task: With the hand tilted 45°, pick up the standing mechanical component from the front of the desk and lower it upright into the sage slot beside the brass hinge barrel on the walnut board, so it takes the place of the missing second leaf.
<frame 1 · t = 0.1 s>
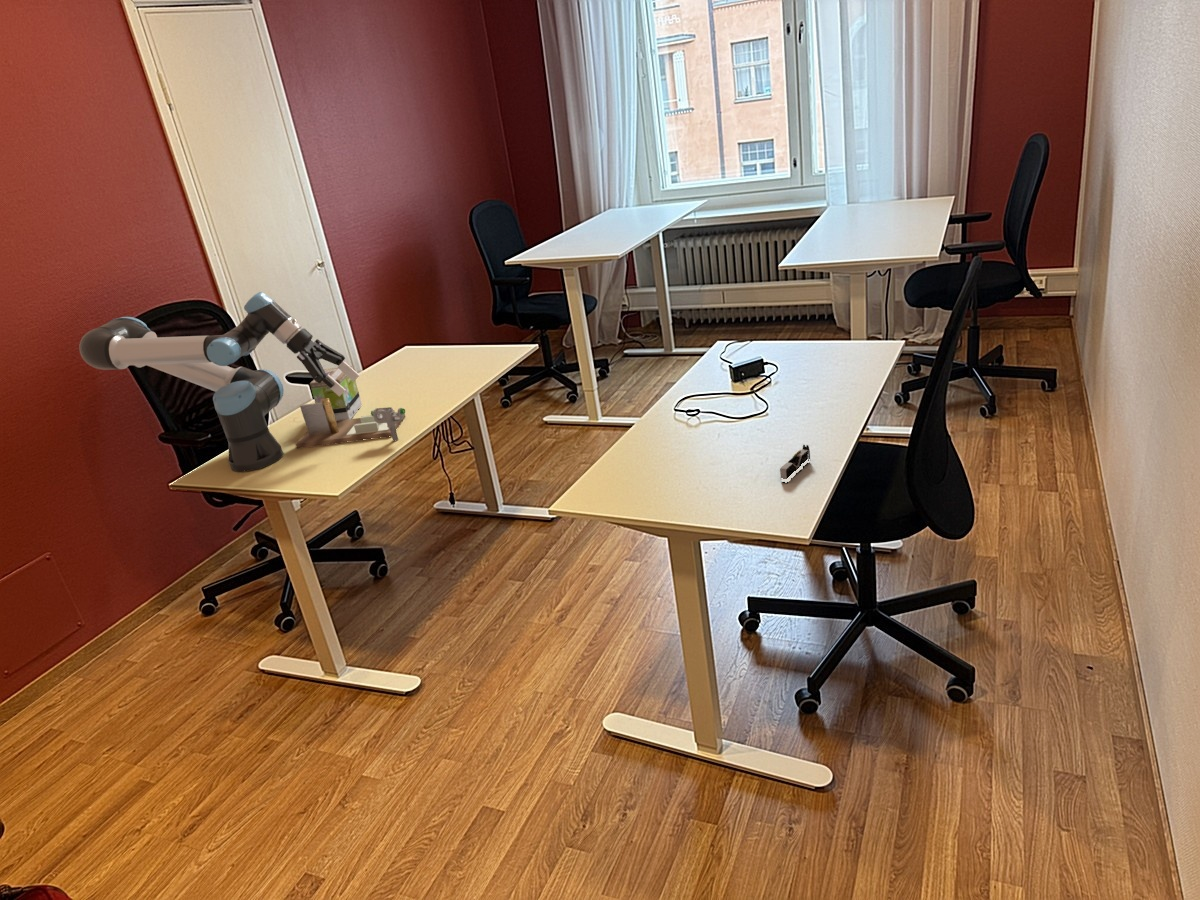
hand: (350, 385, 243), 15 cm above the table, tool tilted 35°, fingers open, 13 cm apart
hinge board: (352, 432, 251), on the table
mechanical component: (395, 440, 239), on the table
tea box: (342, 416, 267), on the table
graphics card: (796, 474, 184), on the table
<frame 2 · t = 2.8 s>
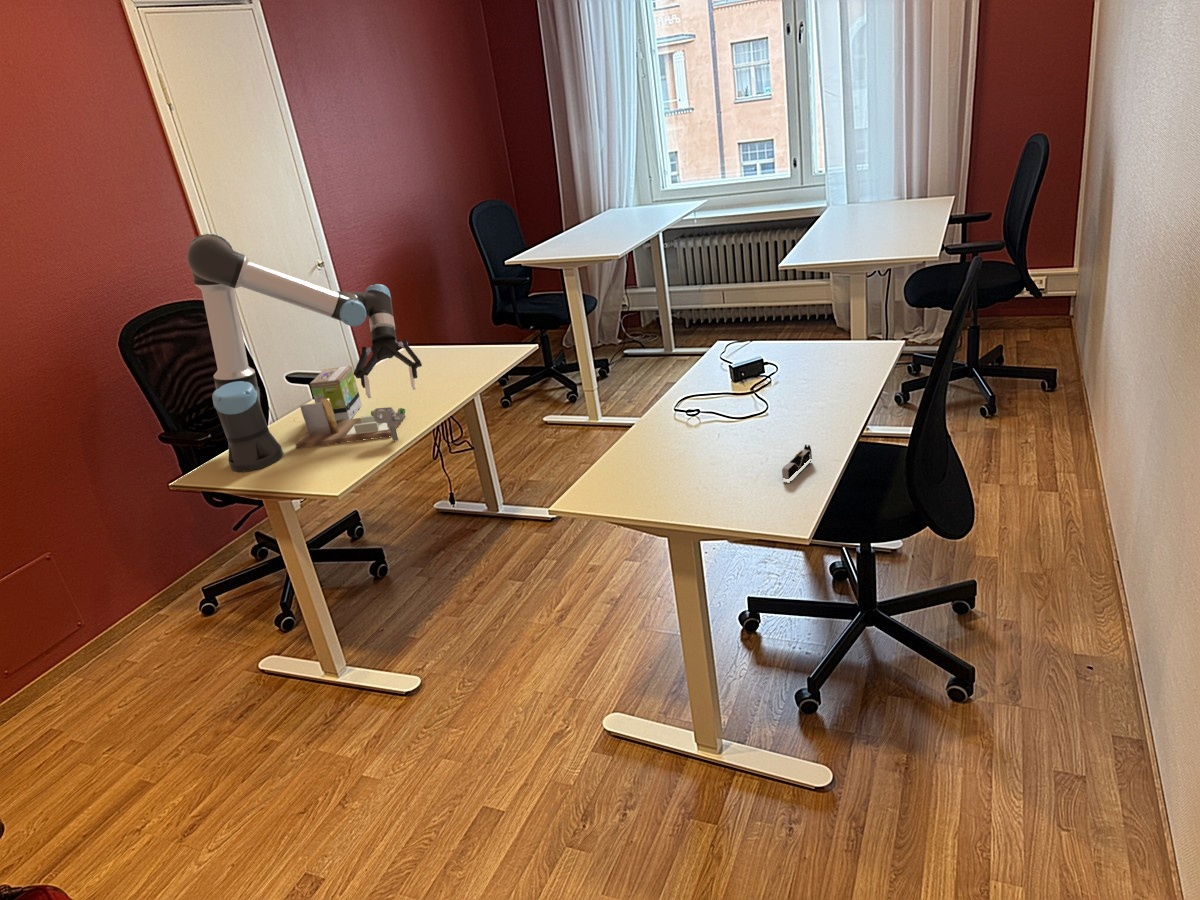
hand: (391, 392, 242), 12 cm above the table, tool tilted 45°, fingers open, 13 cm apart
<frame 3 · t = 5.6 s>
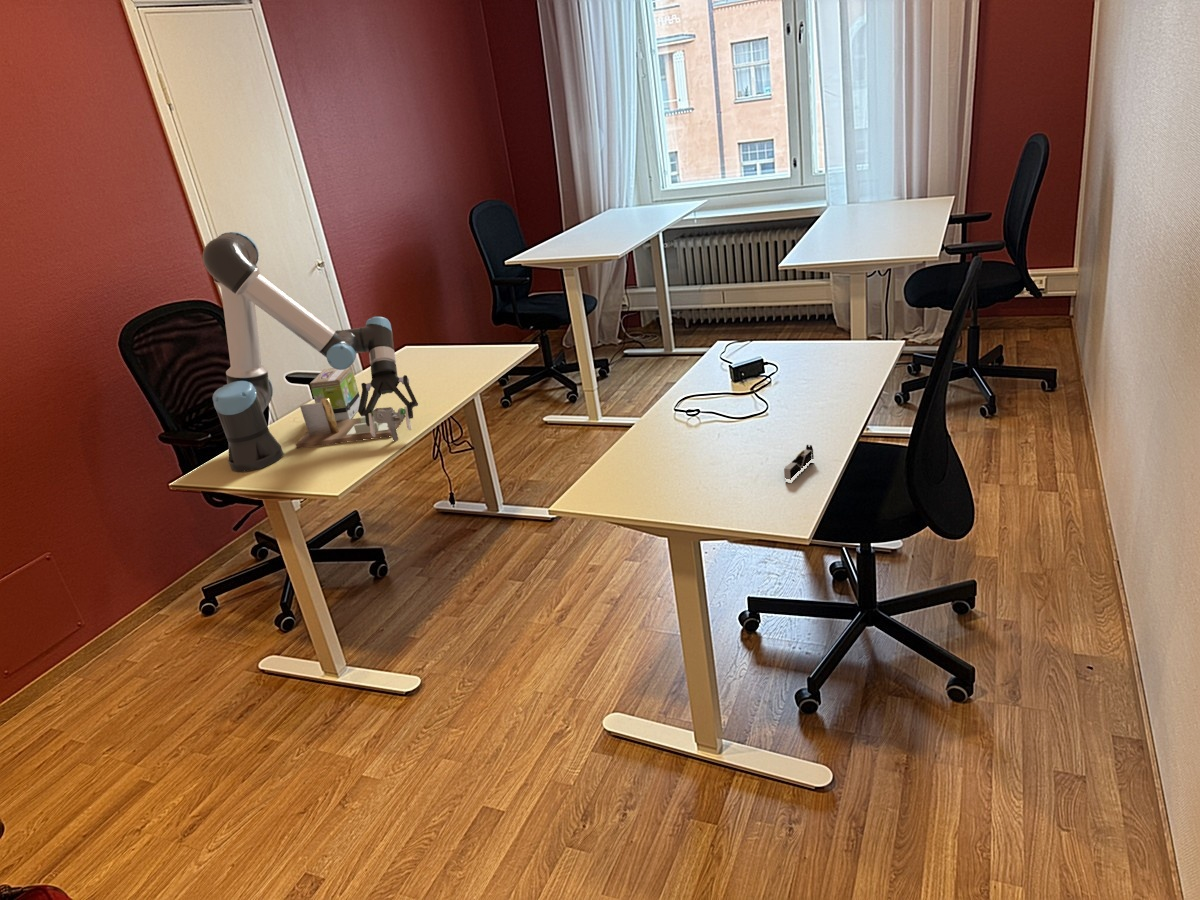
hand: (391, 431, 235), 4 cm above the table, tool tilted 45°, fingers closed on mechanical component, 10 cm apart
mechanical component: (395, 440, 239), on the table, touching gripper
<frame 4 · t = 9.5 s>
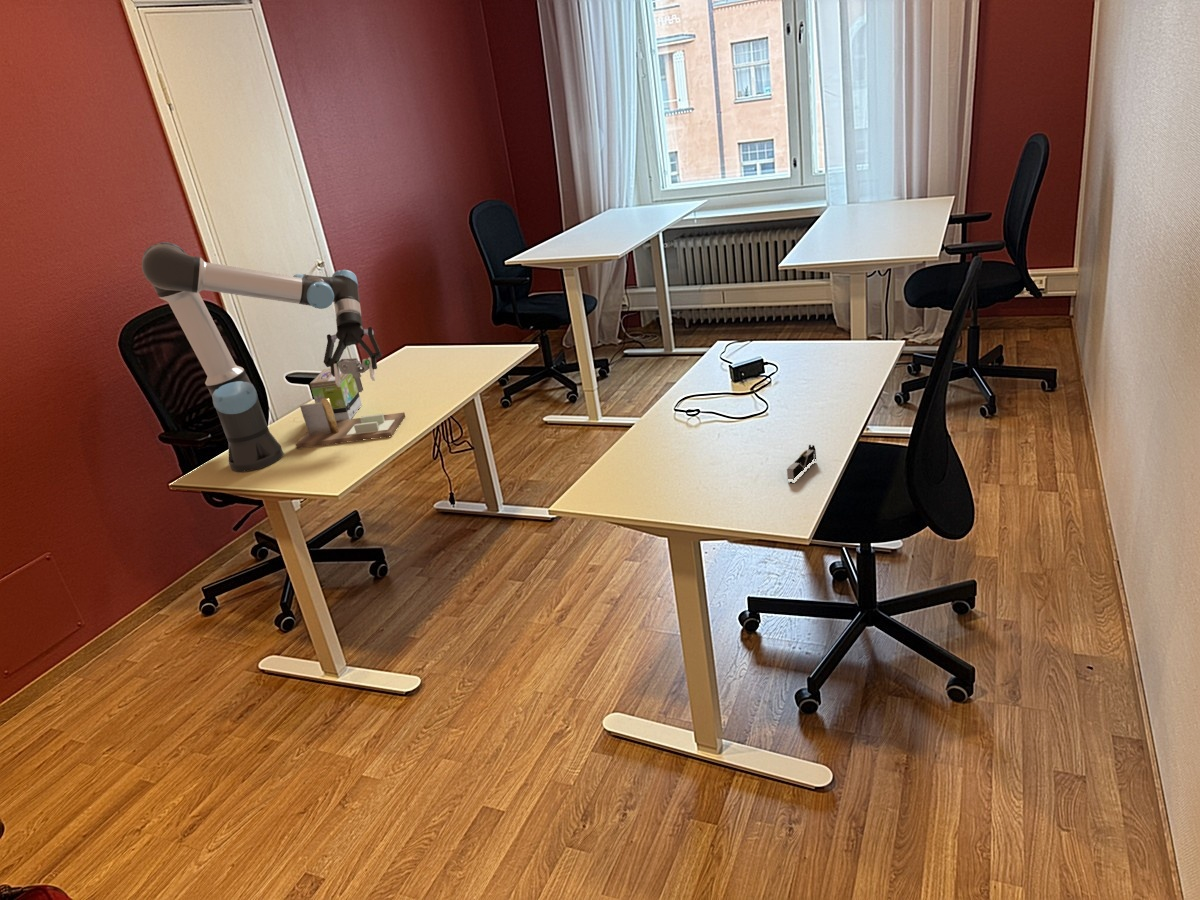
hand: (355, 381, 238), 18 cm above the table, tool tilted 45°, fingers closed on mechanical component, 9 cm apart
mechanical component: (361, 391, 243), point 13 cm above the table, touching gripper
when the fingers open (6 cm above the table, at t = 12.6 s): mechanical component stays where it is, resting on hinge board.
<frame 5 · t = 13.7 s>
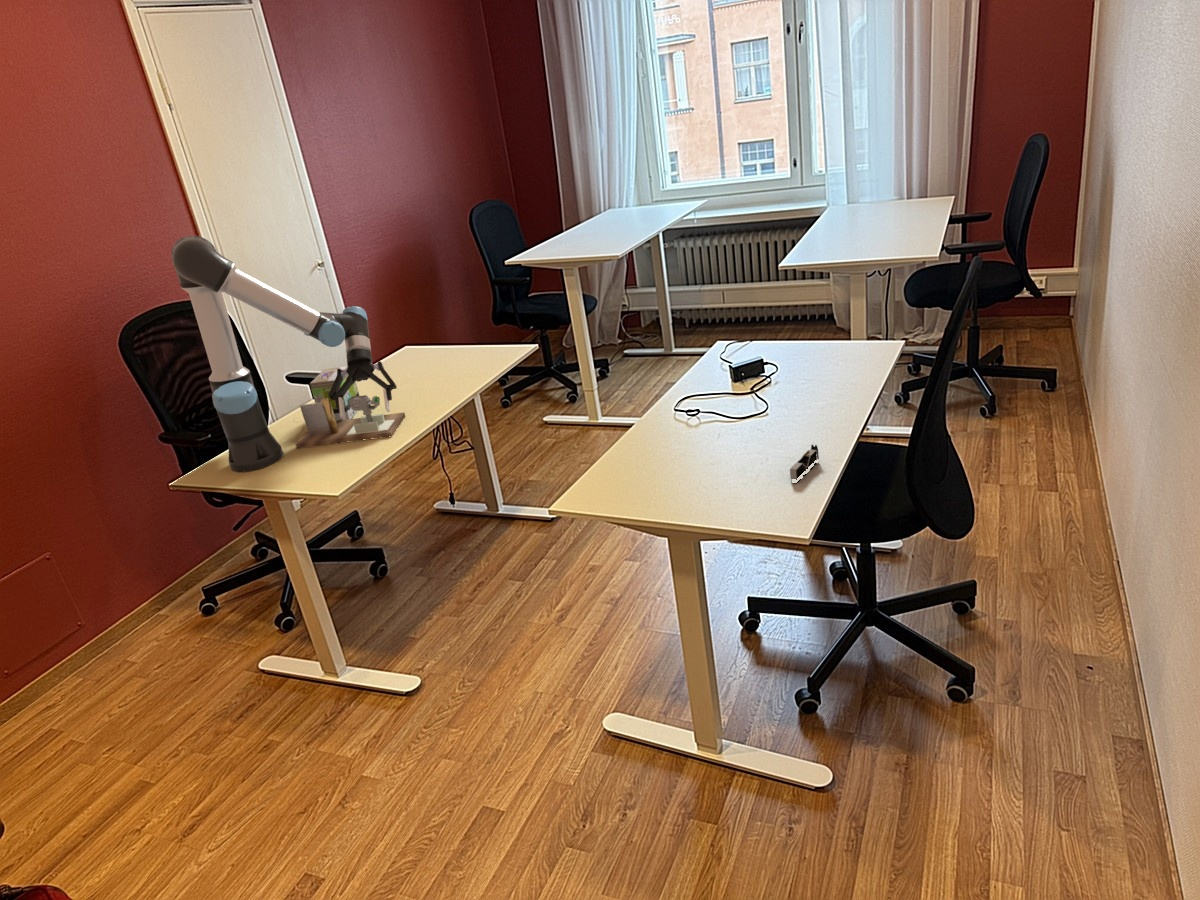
hand: (365, 414, 243), 7 cm above the table, tool tilted 45°, fingers open, 13 cm apart
mechanical component: (372, 427, 248), point 2 cm above the table, touching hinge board
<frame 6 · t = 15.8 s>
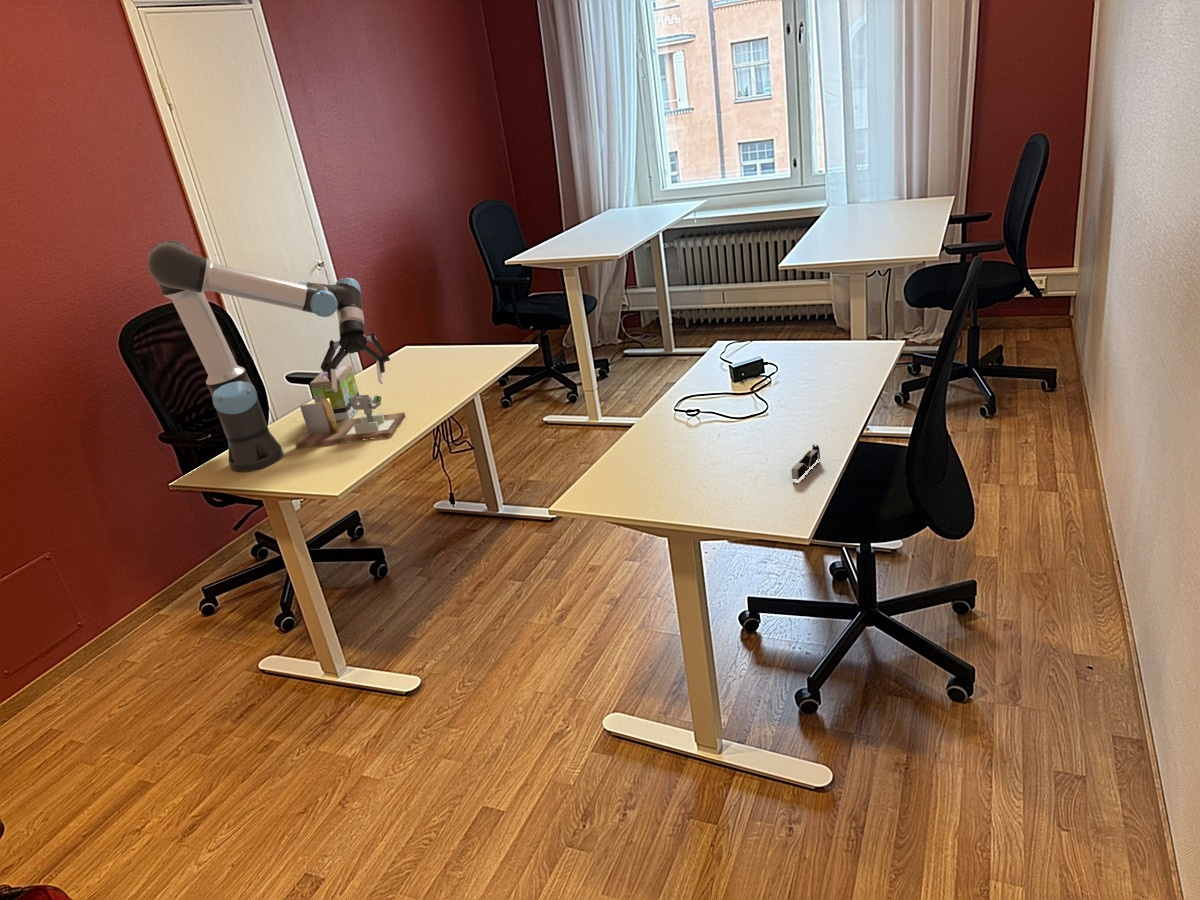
hand: (357, 386, 240), 16 cm above the table, tool tilted 45°, fingers open, 13 cm apart
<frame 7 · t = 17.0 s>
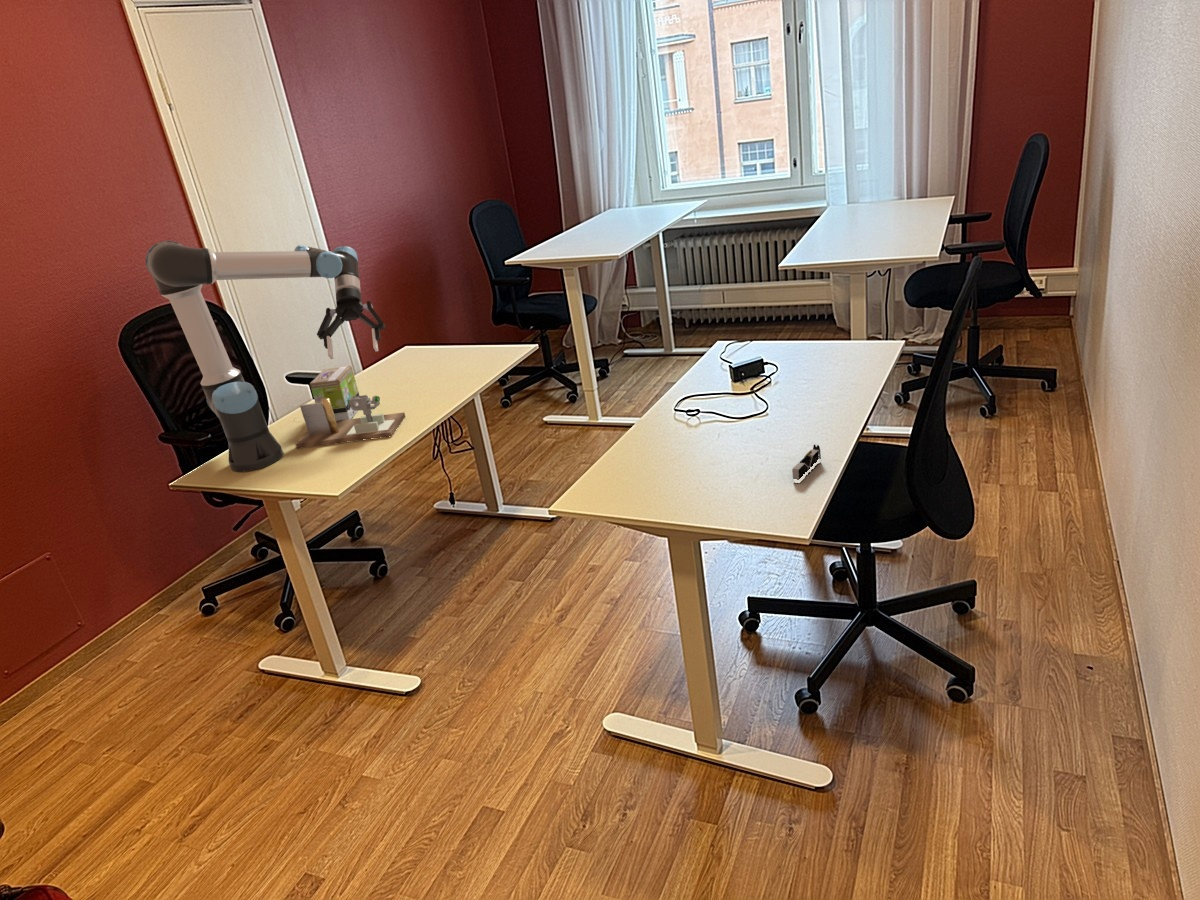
hand: (353, 353, 242), 24 cm above the table, tool tilted 45°, fingers open, 13 cm apart
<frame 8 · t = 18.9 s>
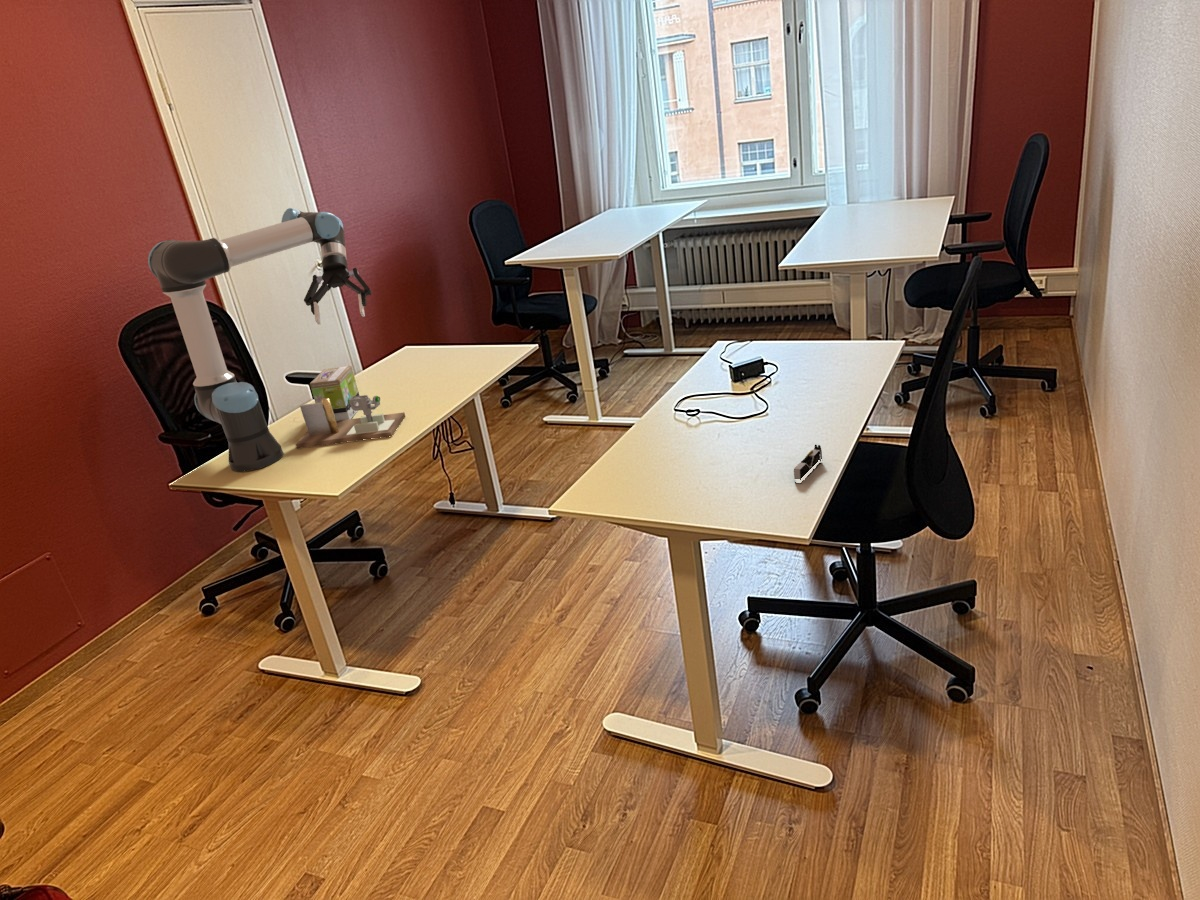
hand: (340, 318, 246), 34 cm above the table, tool tilted 45°, fingers open, 13 cm apart
at the end: mechanical component 0.4 cm from the target spot on the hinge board, point 1.5 cm above the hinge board's base; mechanical component tilted 1°; the gripper is holding nothing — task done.
